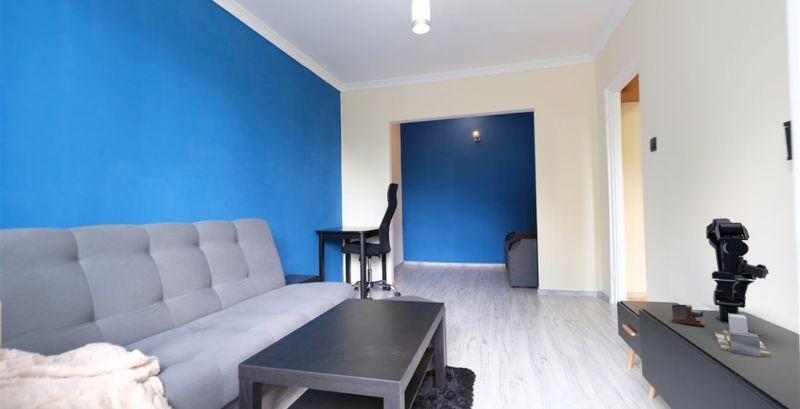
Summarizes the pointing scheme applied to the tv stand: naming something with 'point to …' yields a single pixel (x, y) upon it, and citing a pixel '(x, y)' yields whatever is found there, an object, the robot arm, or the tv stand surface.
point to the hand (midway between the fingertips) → (736, 299)
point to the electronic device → (686, 315)
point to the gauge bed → (742, 343)
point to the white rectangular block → (737, 323)
